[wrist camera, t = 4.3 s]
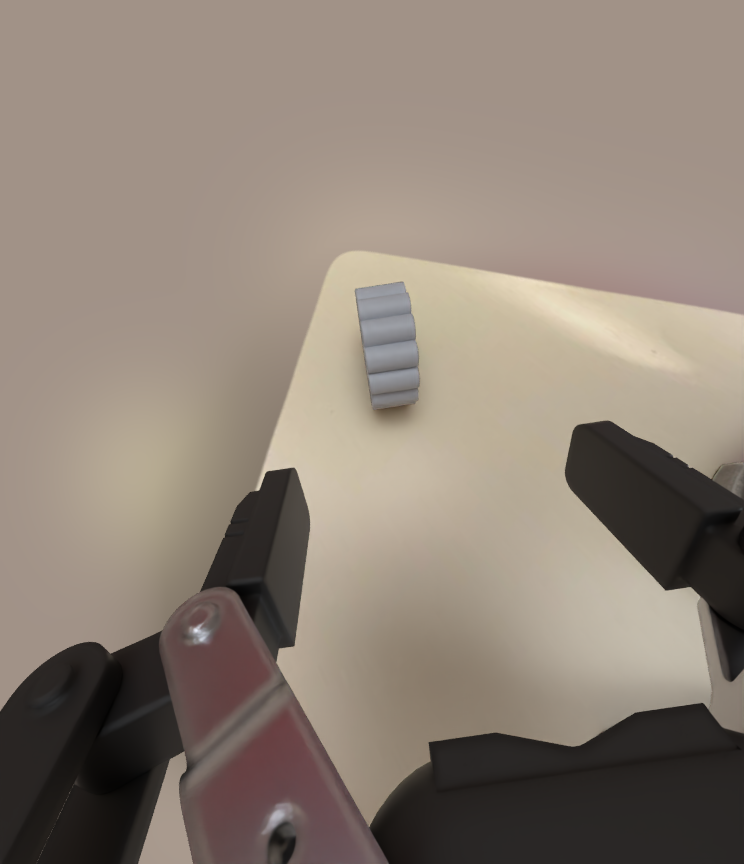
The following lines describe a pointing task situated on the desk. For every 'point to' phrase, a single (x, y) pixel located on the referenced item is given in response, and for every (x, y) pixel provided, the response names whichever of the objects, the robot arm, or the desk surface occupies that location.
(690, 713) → the robot arm
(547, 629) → the desk surface
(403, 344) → the grey scalloped ring
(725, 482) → the webcam
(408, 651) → the desk surface
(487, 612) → the desk surface
